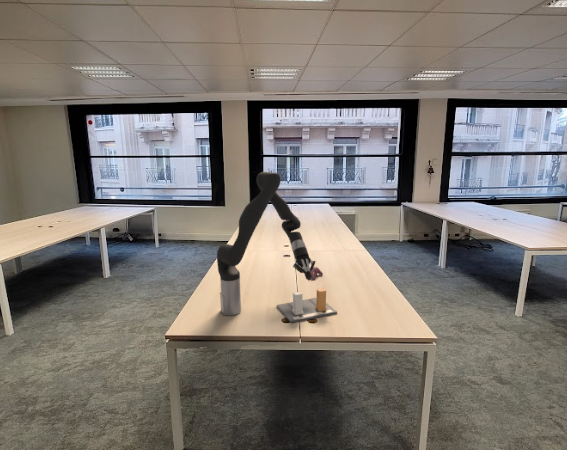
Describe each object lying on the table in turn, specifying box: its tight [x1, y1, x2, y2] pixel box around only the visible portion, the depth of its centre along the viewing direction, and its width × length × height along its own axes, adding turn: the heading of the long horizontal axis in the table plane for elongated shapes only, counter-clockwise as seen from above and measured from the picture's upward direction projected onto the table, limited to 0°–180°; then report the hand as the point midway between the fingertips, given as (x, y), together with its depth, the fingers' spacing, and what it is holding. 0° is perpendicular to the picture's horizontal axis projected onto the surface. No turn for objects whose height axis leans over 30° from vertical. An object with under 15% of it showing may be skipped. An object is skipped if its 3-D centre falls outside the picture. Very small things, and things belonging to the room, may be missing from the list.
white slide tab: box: [292, 291, 303, 315], centre depth 154 cm, size 4×4×10 cm
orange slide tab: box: [315, 288, 327, 312], centre depth 157 cm, size 4×4×10 cm
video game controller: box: [310, 266, 324, 280], centre depth 204 cm, size 10×5×7 cm, turn 142°
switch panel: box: [276, 297, 338, 324], centre depth 160 cm, size 24×18×1 cm
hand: (309, 279), depth 167 cm, fingers closed
